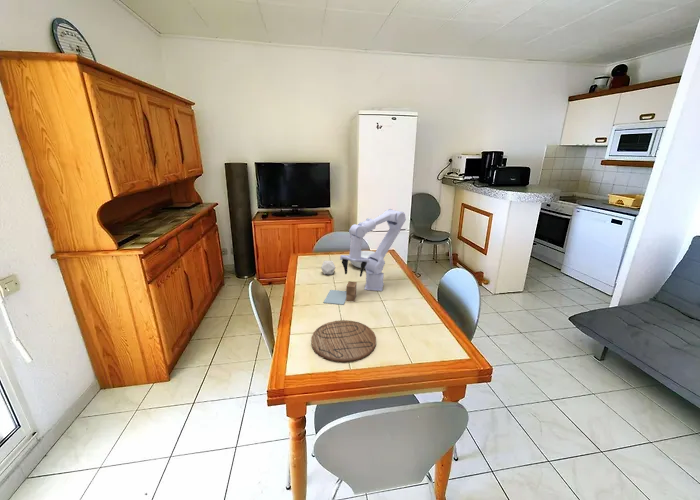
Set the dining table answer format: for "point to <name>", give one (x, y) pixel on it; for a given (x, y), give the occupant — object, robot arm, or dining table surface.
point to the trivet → (343, 341)
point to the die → (328, 267)
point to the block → (351, 291)
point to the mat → (336, 297)
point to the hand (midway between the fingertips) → (353, 274)
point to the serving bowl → (365, 255)
